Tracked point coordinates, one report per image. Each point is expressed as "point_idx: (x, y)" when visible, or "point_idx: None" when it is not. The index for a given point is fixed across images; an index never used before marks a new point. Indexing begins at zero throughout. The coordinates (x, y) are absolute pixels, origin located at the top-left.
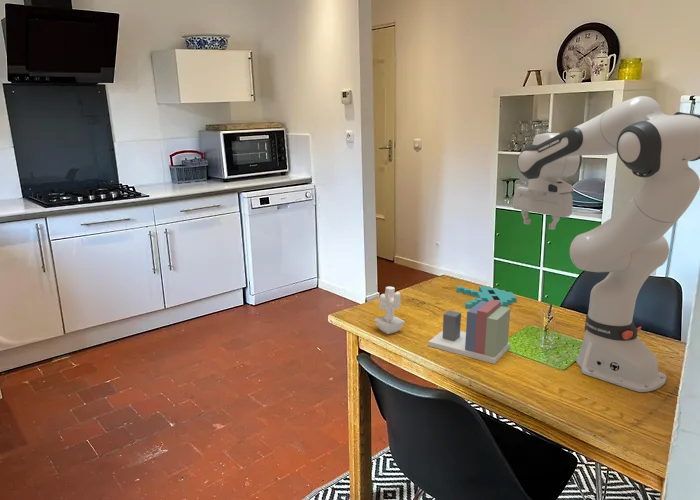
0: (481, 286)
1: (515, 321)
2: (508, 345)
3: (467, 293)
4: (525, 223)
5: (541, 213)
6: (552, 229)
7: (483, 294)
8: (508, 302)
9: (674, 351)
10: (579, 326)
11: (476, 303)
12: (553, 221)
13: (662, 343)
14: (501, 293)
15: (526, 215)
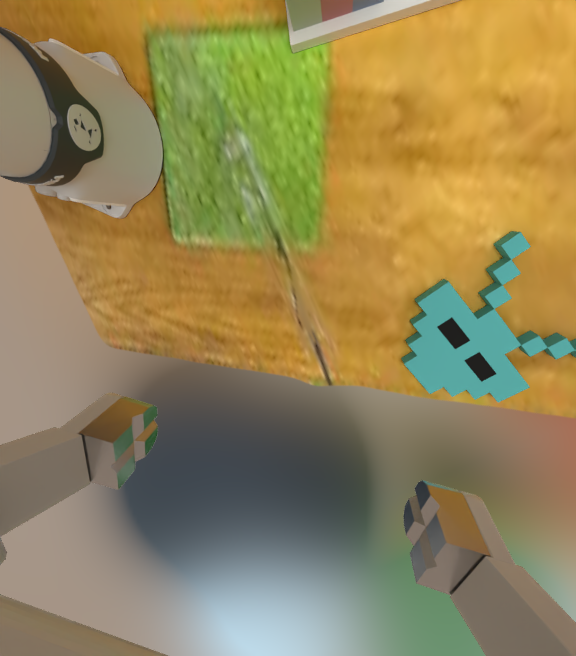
0: (522, 389)
1: (355, 242)
2: (288, 25)
3: (548, 339)
4: (452, 491)
5: (106, 638)
6: (112, 393)
7: (496, 337)
8: (415, 336)
9: (89, 305)
10: (238, 310)
11: (493, 269)
12: (2, 453)
13: (115, 326)
14: (451, 371)
15: (510, 652)
